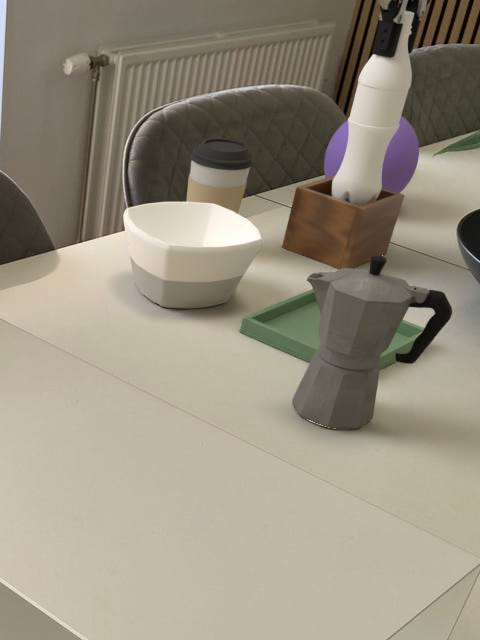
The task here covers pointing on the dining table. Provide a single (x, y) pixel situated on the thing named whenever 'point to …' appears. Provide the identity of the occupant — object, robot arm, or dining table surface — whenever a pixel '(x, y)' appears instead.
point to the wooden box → (340, 225)
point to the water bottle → (374, 121)
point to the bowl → (189, 252)
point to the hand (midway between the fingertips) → (391, 52)
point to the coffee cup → (219, 173)
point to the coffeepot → (360, 340)
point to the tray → (311, 329)
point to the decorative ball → (396, 160)
